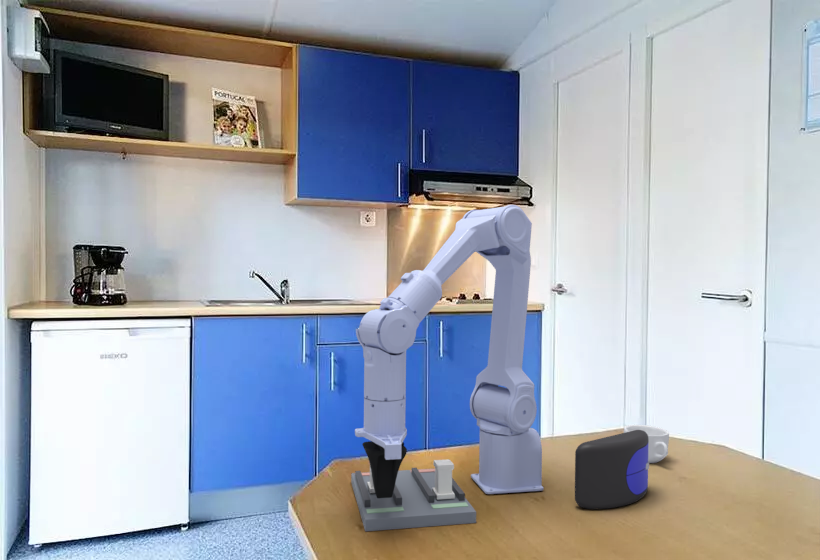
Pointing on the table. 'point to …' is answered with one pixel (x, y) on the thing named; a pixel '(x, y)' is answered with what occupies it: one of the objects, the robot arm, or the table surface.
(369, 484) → the breaker
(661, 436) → the teacup
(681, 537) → the table surface
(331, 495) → the table surface
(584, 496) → the leaning round-cornered charcoal block
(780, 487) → the table surface
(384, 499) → the panel
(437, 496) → the breaker
